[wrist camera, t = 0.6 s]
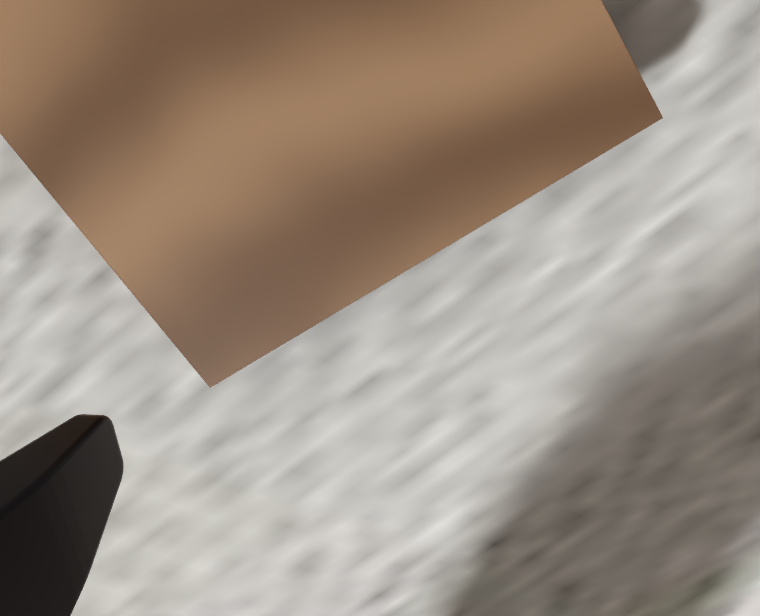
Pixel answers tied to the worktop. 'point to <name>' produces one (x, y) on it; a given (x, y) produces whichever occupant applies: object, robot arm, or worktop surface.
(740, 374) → the worktop surface
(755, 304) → the worktop surface
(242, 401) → the worktop surface
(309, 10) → the shelf board
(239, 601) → the worktop surface
